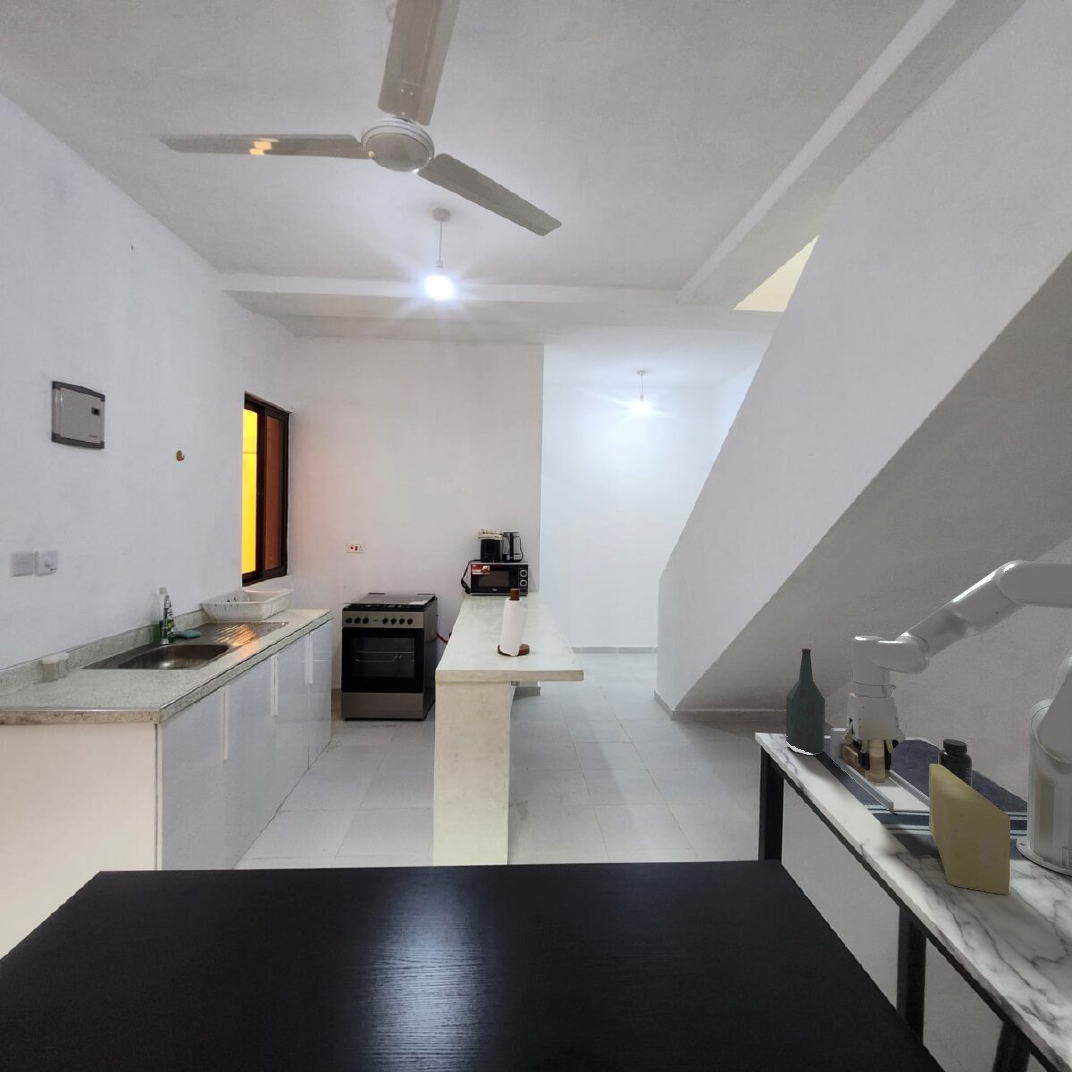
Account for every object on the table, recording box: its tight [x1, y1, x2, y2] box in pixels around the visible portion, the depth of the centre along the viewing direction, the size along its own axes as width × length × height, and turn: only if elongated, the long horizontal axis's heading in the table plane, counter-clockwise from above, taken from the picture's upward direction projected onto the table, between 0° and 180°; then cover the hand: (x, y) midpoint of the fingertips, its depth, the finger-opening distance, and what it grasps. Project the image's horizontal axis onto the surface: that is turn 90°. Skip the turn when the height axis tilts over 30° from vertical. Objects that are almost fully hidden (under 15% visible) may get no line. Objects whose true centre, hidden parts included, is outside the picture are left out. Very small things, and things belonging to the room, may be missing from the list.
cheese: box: [928, 763, 1011, 895], centre depth 109 cm, size 22×10×15 cm, turn 161°
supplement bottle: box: [937, 738, 973, 788], centre depth 137 cm, size 7×7×12 cm
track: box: [829, 727, 930, 813], centre depth 140 cm, size 28×11×9 cm, turn 177°
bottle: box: [785, 648, 826, 754], centre depth 161 cm, size 10×10×30 cm
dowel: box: [865, 739, 886, 783], centre depth 127 cm, size 4×4×12 cm
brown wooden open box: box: [840, 743, 889, 777], centre depth 147 cm, size 9×8×5 cm
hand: (874, 767), depth 127 cm, fingers closed on dowel, 4 cm apart
